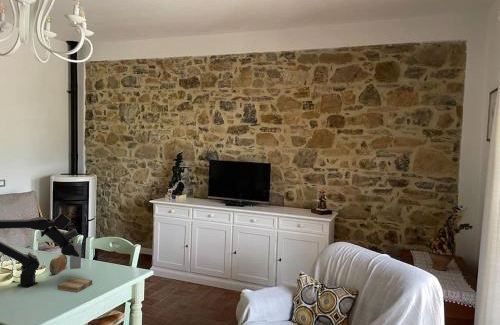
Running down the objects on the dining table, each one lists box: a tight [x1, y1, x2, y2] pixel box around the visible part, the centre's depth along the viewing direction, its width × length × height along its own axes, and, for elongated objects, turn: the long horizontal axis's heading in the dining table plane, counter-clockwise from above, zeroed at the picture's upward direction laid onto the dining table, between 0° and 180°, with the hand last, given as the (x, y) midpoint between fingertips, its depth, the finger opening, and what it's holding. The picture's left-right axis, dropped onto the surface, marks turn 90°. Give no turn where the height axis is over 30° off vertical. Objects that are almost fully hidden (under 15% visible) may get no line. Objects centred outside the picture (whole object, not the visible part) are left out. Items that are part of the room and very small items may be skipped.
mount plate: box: [57, 277, 93, 293], centre depth 195 cm, size 12×11×2 cm
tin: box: [49, 254, 68, 275], centre depth 215 cm, size 15×3×8 cm, turn 179°
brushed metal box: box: [69, 242, 82, 270], centre depth 204 cm, size 5×5×12 cm
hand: (78, 254), depth 205 cm, fingers closed on brushed metal box, 5 cm apart
